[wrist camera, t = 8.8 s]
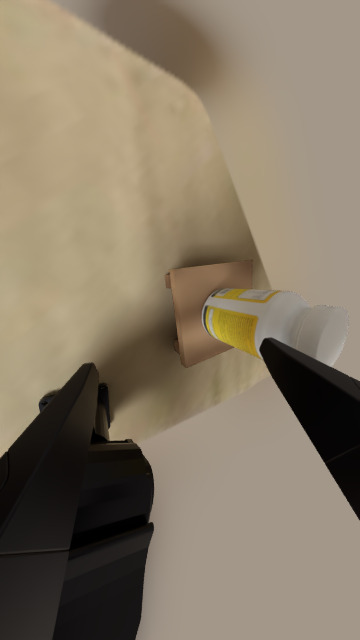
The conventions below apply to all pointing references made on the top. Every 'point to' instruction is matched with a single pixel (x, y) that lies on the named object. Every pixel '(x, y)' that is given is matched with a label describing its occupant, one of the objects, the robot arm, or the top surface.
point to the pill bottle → (275, 322)
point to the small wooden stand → (202, 305)
